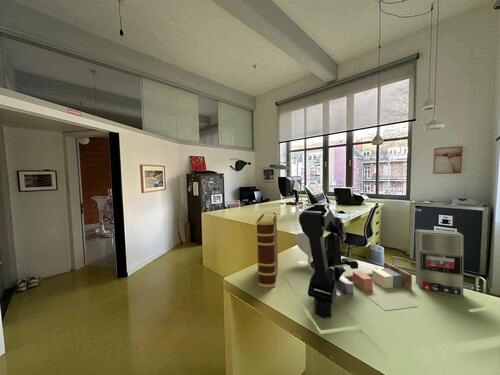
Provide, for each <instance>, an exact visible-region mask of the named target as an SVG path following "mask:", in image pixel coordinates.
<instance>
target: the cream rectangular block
mask: <svg viewBox="0 0 500 375" xmlns="http://www.w3.org/2000/svg"><path fill="white" fill-rule="evenodd" d="M381 269H382V268H379V269H378V268H377V269H372V270H371V273H372V282H374V283H376V284H377V285H379V286H380V287H382V288H383V289H389V288H390V289H391V288H394V287H393V276H392V275H390V274H389V273H387V272H385V271H383V270H381Z"/></svg>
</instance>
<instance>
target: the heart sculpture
mask: <svg viewBox="0 0 500 375" xmlns="http://www.w3.org/2000/svg"><path fill="white" fill-rule="evenodd" d="M294 239H295V243H296V245H297V247H298V248H299V249H300V251H301V252H302V253H303V254H305V255H306V256H307V261H305V260H301V261H300V260H299V261H298V265H302V266H306V267H310V268H311V262H312V261H313V260H312V254H311V249H310V243H309V238H308V237H307V236H306V234H305V233H304V232H303V231H301V232H298V233H296V234H295V237H294Z"/></svg>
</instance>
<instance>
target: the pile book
mask: <svg viewBox="0 0 500 375" xmlns="http://www.w3.org/2000/svg"><path fill="white" fill-rule="evenodd" d="M366 297H367V298H369V300H371V301H372V302H373V303H375V305H377V306H378V307H380V308H381V309H382V310H383V311H385V312H387V311H394V310H395V311H396V310H403V309H412V308H413V309H414V308H418V307H419V306H418V305H416V304H415V302H414V303H413V302H412V301H410V300H409V299H407V298H406V297H404V296H403V295H401V294H399V293H398V292H391V293H382V294H372V295H367V296H366Z"/></svg>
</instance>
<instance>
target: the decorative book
mask: <svg viewBox="0 0 500 375" xmlns="http://www.w3.org/2000/svg"><path fill="white" fill-rule="evenodd" d="M277 223H278V222H277V213H275V214H274V215H264V213H262V214H261V215H260V216H259V217H258V218H257V220H256V221H255V224H256V240H257V241H256V244H257V262H256V263H257V266H258V267H257V274H258V275H257V276H258V281H257V285H258V286H259V287H262V288H266V289H267V288H275V287H276V284H277V283H276V281H277V276H278V269H279V268H278V267H279V266H278V265H279V264H278V263H279V261H278V260H279V258H278V257H279V253H278V224H277Z"/></svg>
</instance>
